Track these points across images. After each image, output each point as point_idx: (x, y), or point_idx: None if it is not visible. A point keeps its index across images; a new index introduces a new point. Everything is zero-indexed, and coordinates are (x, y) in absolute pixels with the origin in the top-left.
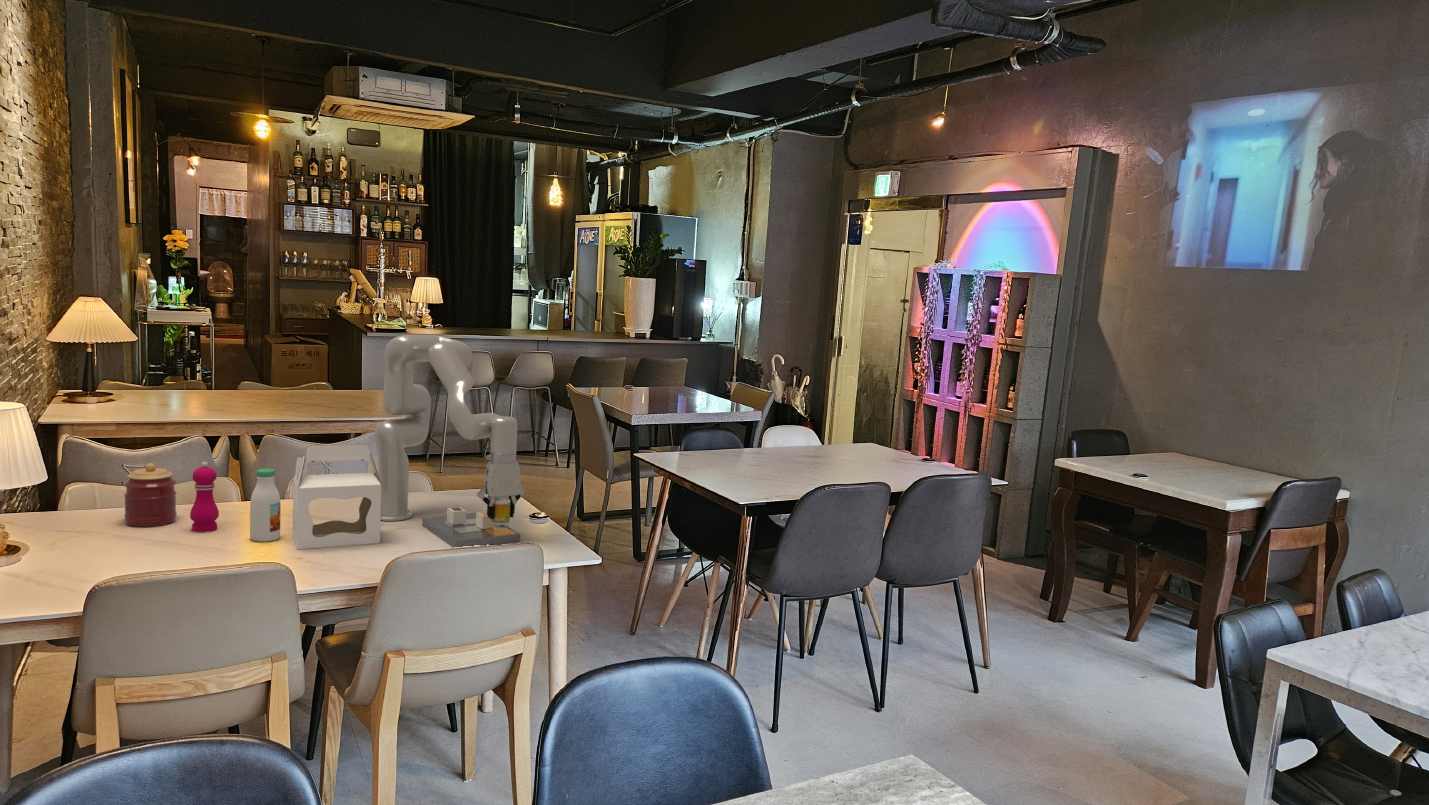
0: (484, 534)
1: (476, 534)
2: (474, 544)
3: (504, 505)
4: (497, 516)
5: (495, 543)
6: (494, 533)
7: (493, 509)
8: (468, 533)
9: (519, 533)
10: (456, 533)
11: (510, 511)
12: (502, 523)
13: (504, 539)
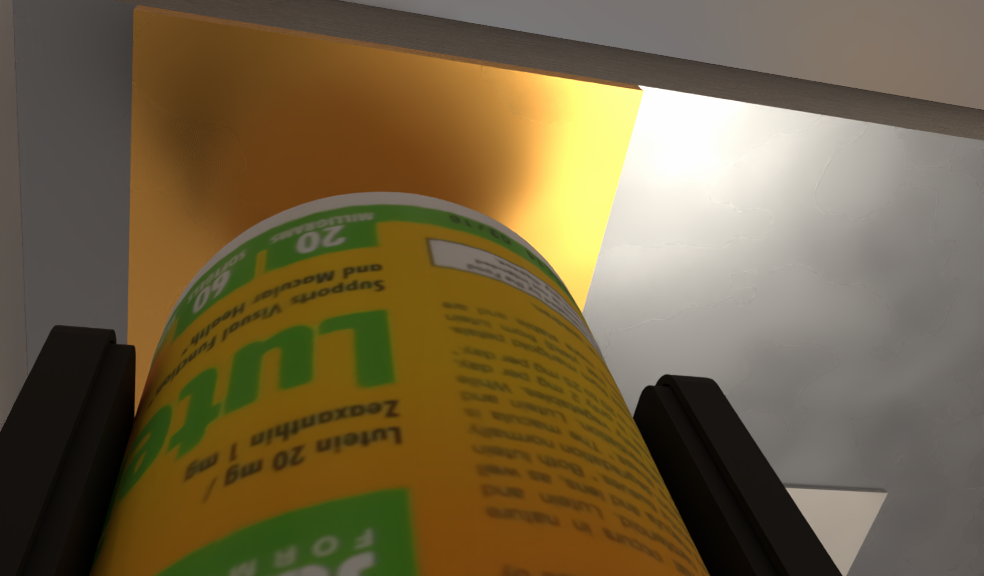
0: (674, 282)
1: (770, 337)
2: (914, 107)
3: (523, 571)
4: (606, 380)
5: (564, 42)
6: (541, 210)
7: (809, 567)
8: (815, 431)
9: (29, 5)
10: (929, 491)
11: (98, 493)
12: (459, 212)
13: (401, 27)
